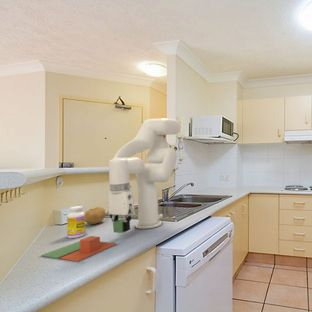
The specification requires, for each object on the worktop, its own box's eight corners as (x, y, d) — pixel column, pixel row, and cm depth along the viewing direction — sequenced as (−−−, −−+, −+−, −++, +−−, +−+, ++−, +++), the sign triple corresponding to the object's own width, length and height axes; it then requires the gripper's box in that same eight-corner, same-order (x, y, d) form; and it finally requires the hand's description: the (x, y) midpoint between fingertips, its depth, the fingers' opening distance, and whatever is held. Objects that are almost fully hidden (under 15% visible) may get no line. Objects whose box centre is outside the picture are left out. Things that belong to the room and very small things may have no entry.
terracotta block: (90, 247, 88) (90, 235, 88) (99, 248, 87) (99, 236, 87) (80, 252, 84) (79, 239, 84) (89, 253, 82) (89, 240, 82)
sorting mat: (83, 240, 97) (83, 239, 97) (116, 244, 92) (116, 243, 92) (41, 256, 81) (41, 254, 82) (78, 261, 76) (78, 260, 76)
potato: (76, 228, 116) (76, 212, 116) (91, 220, 130) (91, 206, 130) (97, 227, 117) (97, 211, 117) (109, 220, 131) (109, 205, 131)
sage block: (121, 228, 101) (121, 218, 101) (129, 229, 100) (129, 219, 100) (113, 232, 97) (113, 221, 97) (122, 233, 96) (121, 222, 96)
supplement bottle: (76, 238, 99) (75, 208, 100) (63, 238, 101) (63, 208, 101) (89, 234, 106) (88, 205, 106) (76, 233, 107) (76, 205, 107)
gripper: (142, 186, 99) (144, 228, 100) (111, 185, 104) (112, 226, 105) (129, 189, 92) (131, 235, 93) (96, 188, 97) (98, 232, 98)
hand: (121, 229), depth 99 cm, fingers closed on sage block, 4 cm apart
